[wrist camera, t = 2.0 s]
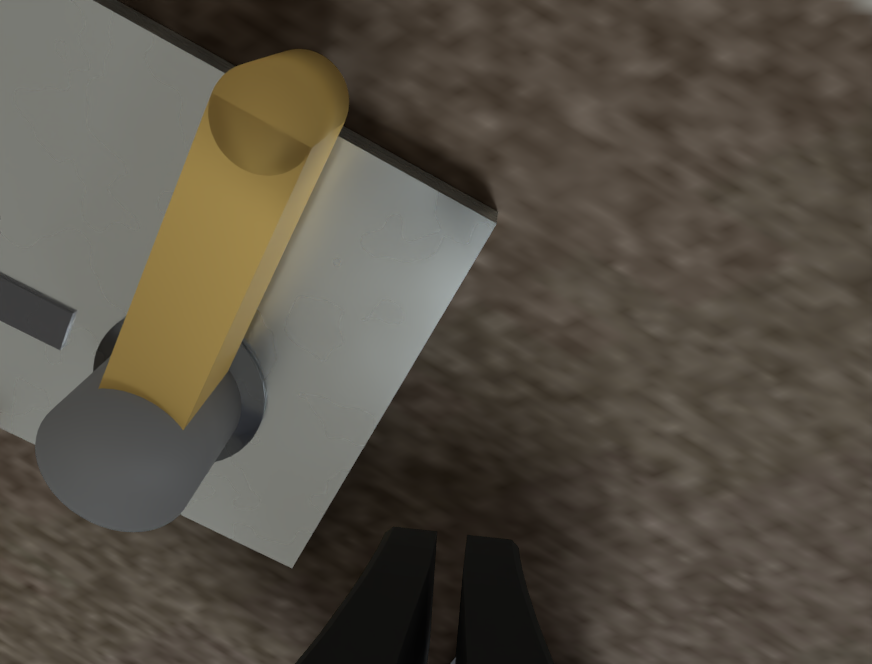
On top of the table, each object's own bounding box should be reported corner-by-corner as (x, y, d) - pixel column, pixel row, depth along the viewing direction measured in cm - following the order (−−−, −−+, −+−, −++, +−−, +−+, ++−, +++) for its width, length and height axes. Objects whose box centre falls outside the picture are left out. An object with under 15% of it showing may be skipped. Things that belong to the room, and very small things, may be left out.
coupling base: (300, 545, 24) (290, 573, 23) (-209, 298, 22) (-248, 315, 21) (515, 183, 18) (514, 195, 17) (-134, -181, 17) (-180, -193, 16)
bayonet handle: (212, 476, 21) (162, 556, 18) (89, 416, 21) (17, 487, 18) (399, 97, 16) (372, 123, 14) (245, 10, 16) (182, 17, 13)
